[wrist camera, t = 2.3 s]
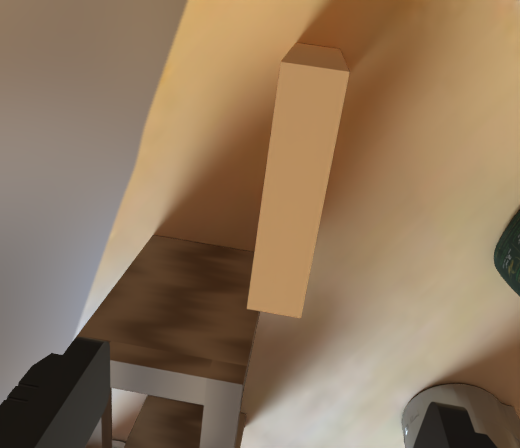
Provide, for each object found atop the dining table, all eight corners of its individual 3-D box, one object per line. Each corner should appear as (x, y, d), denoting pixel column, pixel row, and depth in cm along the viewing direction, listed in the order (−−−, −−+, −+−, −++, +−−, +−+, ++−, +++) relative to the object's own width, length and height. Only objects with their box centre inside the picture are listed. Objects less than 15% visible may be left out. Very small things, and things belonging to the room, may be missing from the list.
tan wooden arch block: (339, 48, 32) (349, 71, 20) (307, 221, 38) (300, 318, 26) (296, 42, 32) (280, 61, 21) (270, 215, 38) (246, 308, 26)
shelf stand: (270, 255, 39) (233, 429, 23) (243, 428, 48) (202, 645, 31) (152, 234, 40) (35, 391, 24) (147, 409, 48) (57, 613, 32)
